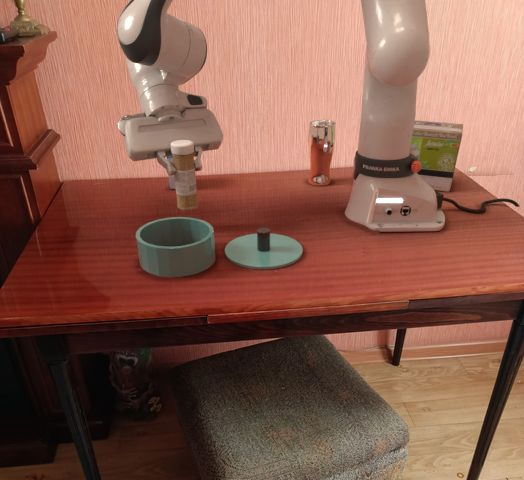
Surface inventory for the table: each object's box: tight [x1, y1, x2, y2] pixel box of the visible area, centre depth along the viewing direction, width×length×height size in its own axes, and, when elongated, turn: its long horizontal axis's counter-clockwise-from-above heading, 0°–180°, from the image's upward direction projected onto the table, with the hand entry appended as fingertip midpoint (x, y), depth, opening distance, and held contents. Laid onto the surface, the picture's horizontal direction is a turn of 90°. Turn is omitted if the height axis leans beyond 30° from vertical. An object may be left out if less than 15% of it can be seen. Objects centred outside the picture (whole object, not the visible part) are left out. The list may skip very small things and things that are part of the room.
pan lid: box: [224, 227, 304, 271], centre depth 104 cm, size 16×16×5 cm
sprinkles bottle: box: [171, 140, 199, 212], centre depth 108 cm, size 5×5×14 cm
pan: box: [135, 216, 217, 278], centre depth 101 cm, size 15×15×6 cm
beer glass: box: [307, 119, 337, 187], centre depth 136 cm, size 7×7×15 cm
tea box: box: [410, 119, 464, 193], centre depth 135 cm, size 15×10×15 cm
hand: (185, 171), depth 107 cm, fingers closed on sprinkles bottle, 4 cm apart
